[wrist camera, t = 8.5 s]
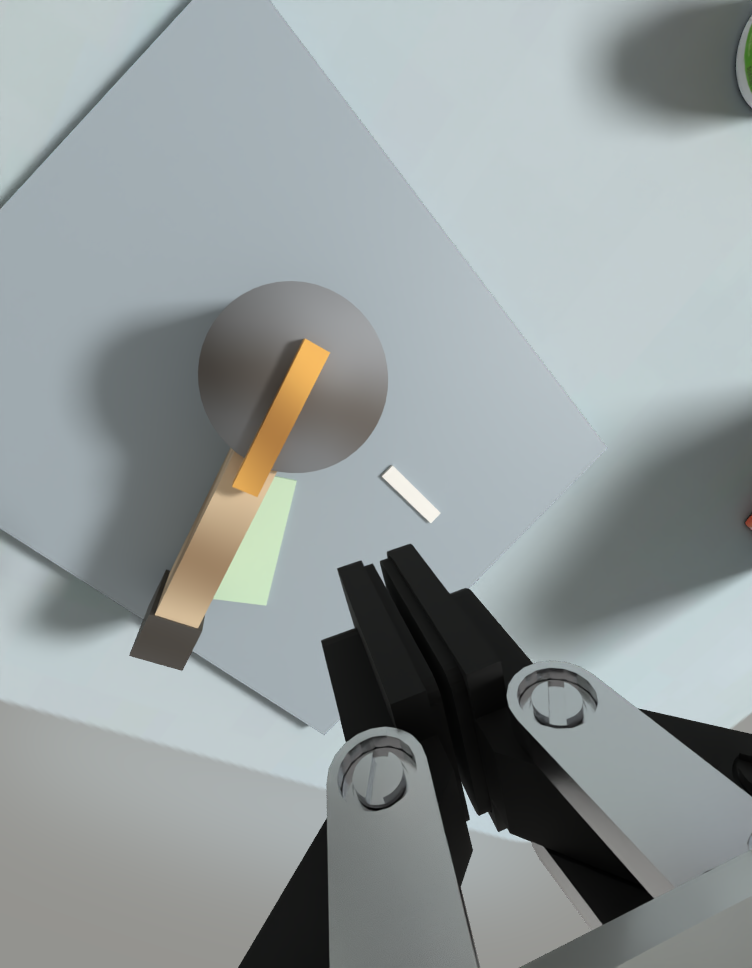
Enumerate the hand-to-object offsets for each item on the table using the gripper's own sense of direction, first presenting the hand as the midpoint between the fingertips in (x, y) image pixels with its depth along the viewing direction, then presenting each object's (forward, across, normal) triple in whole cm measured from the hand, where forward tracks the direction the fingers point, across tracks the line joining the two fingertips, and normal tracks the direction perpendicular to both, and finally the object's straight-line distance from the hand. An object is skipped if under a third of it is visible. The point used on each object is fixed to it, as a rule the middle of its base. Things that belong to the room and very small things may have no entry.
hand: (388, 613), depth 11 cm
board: (+16, 0, -1) cm, 16 cm away
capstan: (+15, +3, 0) cm, 15 cm away
